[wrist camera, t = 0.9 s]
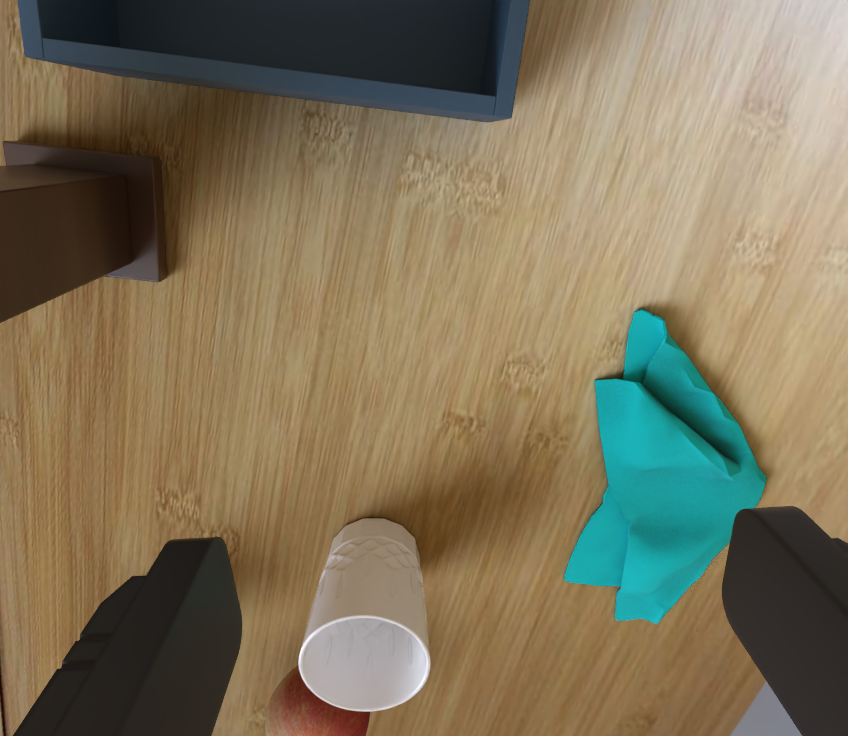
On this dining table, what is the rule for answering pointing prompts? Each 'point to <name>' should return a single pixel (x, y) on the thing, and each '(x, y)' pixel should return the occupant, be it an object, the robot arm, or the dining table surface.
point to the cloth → (662, 478)
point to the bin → (299, 48)
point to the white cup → (368, 620)
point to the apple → (309, 713)
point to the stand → (76, 221)
